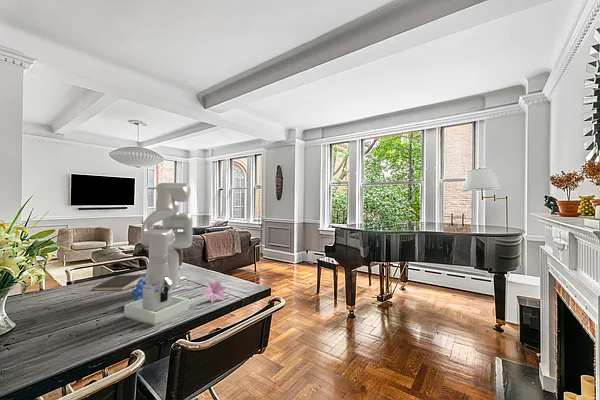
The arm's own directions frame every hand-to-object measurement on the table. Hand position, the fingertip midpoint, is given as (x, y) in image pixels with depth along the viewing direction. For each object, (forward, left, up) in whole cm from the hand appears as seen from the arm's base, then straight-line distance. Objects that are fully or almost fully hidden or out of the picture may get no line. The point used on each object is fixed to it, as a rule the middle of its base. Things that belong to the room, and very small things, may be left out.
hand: (157, 299), depth 121 cm
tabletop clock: (-51, -52, -6) cm, 73 cm away
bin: (0, 0, -6) cm, 6 cm away
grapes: (-3, -17, -6) cm, 18 cm away
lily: (-24, +11, -6) cm, 27 cm away
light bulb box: (0, 0, -3) cm, 3 cm away
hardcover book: (-19, -57, -7) cm, 60 cm away
